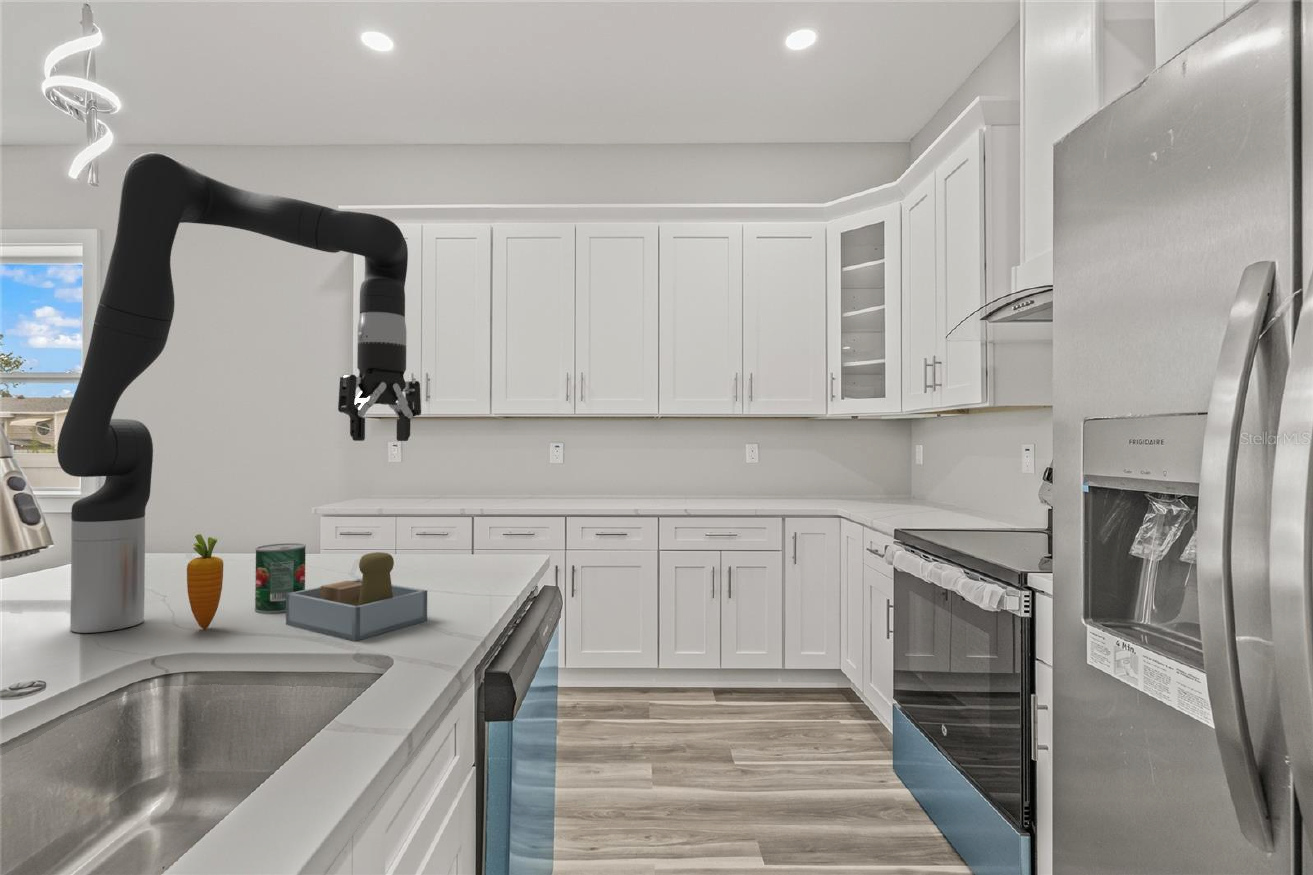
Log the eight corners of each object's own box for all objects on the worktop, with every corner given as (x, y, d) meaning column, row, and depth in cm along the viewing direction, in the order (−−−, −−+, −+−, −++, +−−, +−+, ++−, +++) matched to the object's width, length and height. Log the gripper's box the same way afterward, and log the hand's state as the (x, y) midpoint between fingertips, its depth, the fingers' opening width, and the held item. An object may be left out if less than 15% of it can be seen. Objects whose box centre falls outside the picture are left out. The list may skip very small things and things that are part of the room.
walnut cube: (320, 615, 112) (320, 585, 112) (347, 609, 117) (347, 580, 117) (339, 620, 110) (340, 589, 110) (366, 613, 114) (366, 583, 114)
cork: (403, 617, 112) (404, 551, 112) (381, 627, 106) (382, 557, 106) (370, 615, 113) (371, 549, 113) (347, 624, 107) (348, 555, 107)
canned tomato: (245, 609, 119) (246, 547, 119) (289, 600, 126) (290, 541, 126) (270, 615, 115) (270, 551, 115) (314, 606, 122) (315, 545, 122)
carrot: (227, 629, 107) (228, 534, 107) (190, 635, 103) (191, 537, 103) (218, 623, 110) (219, 531, 110) (182, 629, 107) (183, 534, 107)
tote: (285, 624, 110) (286, 593, 110) (359, 606, 122) (359, 578, 122) (355, 641, 101) (355, 608, 101) (427, 620, 113) (427, 590, 113)
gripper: (359, 335, 104) (358, 441, 104) (431, 347, 116) (431, 441, 116) (328, 339, 107) (327, 440, 107) (402, 349, 120) (401, 440, 120)
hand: (381, 440), depth 112 cm, fingers open, 8 cm apart
